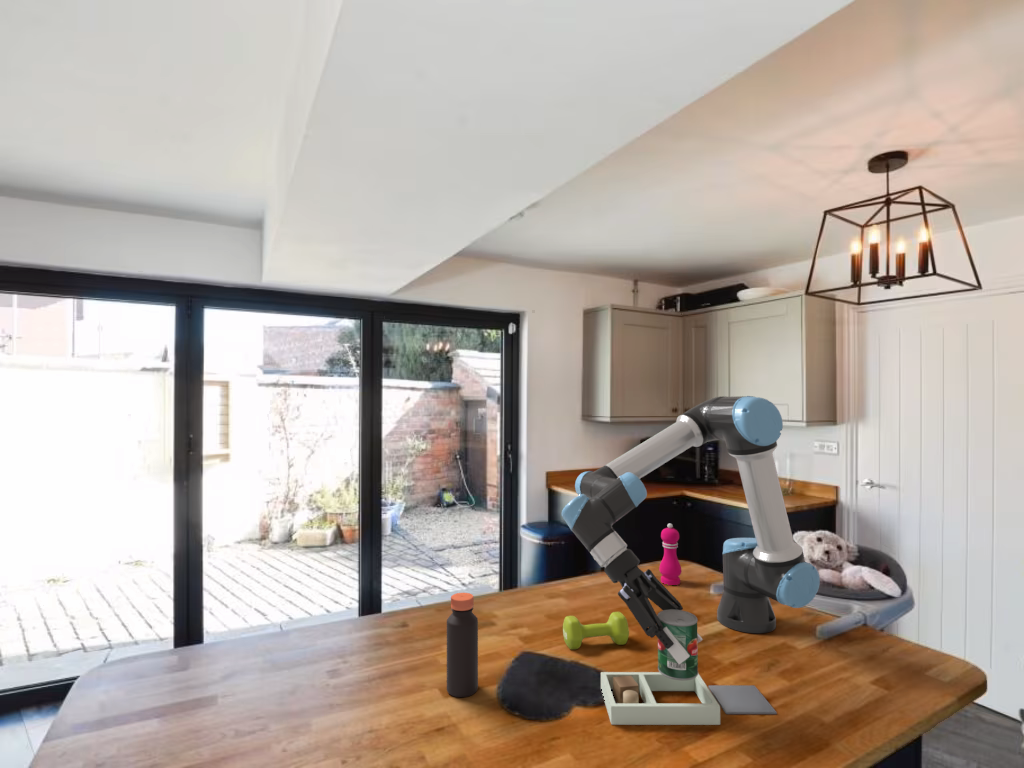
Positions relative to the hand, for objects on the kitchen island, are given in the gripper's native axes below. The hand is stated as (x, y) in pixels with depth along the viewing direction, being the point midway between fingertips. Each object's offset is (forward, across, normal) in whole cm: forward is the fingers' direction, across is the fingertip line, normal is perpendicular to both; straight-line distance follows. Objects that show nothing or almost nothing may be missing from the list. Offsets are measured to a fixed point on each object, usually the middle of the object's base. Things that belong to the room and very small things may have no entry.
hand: (691, 651), depth 110 cm
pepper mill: (-11, -71, -30) cm, 78 cm away
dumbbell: (-12, -16, -30) cm, 36 cm away
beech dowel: (+1, +8, -15) cm, 17 cm away
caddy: (+4, +2, -13) cm, 14 cm away
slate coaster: (+14, -10, -4) cm, 17 cm away
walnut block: (0, +4, -17) cm, 18 cm away
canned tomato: (+1, 0, -5) cm, 6 cm away
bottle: (-22, +20, -39) cm, 49 cm away
